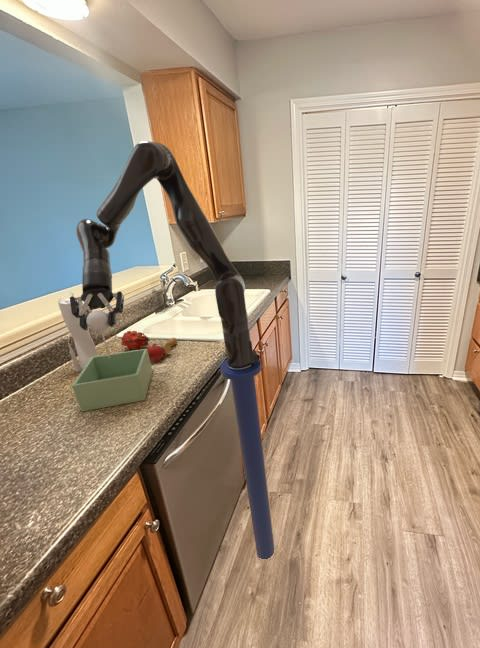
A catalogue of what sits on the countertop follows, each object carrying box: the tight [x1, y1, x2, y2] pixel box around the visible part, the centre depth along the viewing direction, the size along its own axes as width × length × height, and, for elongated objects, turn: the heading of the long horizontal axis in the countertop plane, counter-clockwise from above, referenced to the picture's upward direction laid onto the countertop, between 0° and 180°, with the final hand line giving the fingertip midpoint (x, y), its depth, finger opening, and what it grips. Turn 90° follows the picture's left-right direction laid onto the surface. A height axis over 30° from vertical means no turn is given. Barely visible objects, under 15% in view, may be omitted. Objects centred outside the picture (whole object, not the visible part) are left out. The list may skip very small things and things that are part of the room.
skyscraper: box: [57, 292, 100, 374], centre depth 118 cm, size 8×8×28 cm
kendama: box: [146, 337, 178, 362], centre depth 130 cm, size 8×6×18 cm
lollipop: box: [86, 310, 110, 358], centre depth 95 cm, size 6×6×15 cm
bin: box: [71, 348, 154, 412], centre depth 105 cm, size 18×20×9 cm
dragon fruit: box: [120, 330, 151, 351], centre depth 135 cm, size 8×8×12 cm
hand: (98, 327), depth 92 cm, fingers closed on lollipop, 6 cm apart
